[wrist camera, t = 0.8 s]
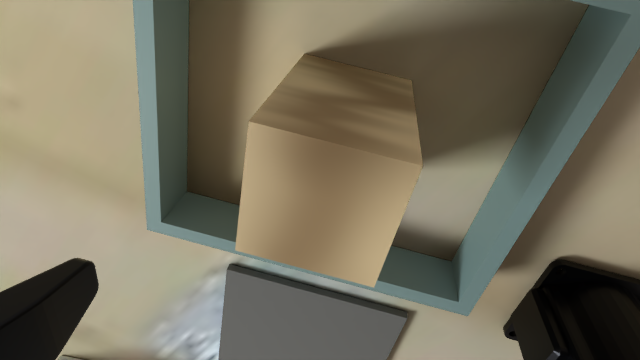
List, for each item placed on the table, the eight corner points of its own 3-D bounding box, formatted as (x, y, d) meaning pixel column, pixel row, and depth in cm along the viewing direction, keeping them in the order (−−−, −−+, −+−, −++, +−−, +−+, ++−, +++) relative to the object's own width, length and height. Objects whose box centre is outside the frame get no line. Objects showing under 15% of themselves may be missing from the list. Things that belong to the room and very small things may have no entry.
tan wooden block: (411, 80, 17) (423, 166, 11) (380, 172, 20) (374, 287, 13) (304, 53, 17) (248, 121, 11) (288, 148, 20) (235, 250, 13)
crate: (624, -16, 14) (673, -7, 12) (459, 274, 23) (467, 316, 20) (170, -123, 15) (124, -137, 12) (174, 198, 23) (147, 229, 21)
